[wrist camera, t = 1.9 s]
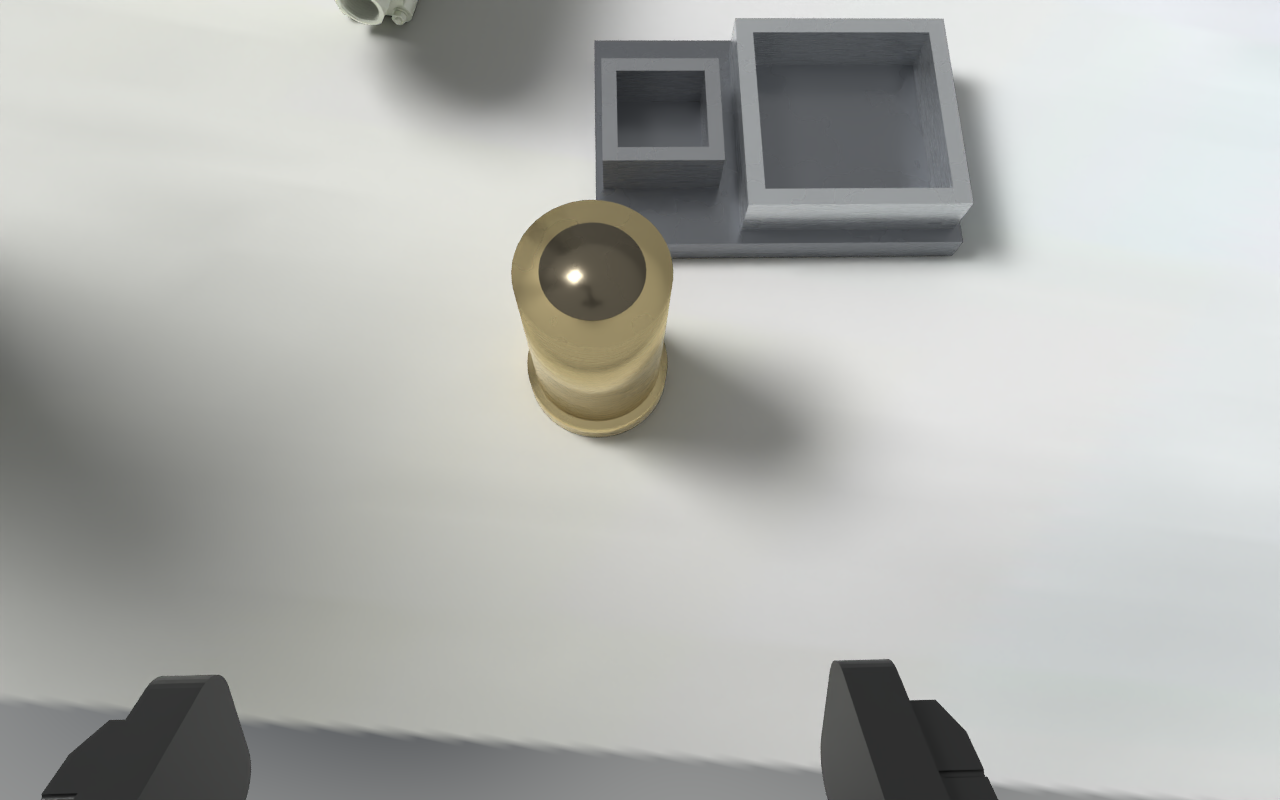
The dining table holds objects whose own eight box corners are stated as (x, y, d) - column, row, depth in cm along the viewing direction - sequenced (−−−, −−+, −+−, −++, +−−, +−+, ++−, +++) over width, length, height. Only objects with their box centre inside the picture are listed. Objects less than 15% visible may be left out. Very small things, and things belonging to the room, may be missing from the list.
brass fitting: (529, 438, 32) (498, 356, 24) (531, 310, 34) (502, 190, 25) (667, 436, 33) (686, 354, 24) (663, 308, 34) (680, 189, 26)
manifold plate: (597, 258, 35) (595, 219, 32) (595, 59, 38) (593, 6, 35) (951, 255, 35) (983, 217, 32) (922, 59, 38) (948, 7, 35)
